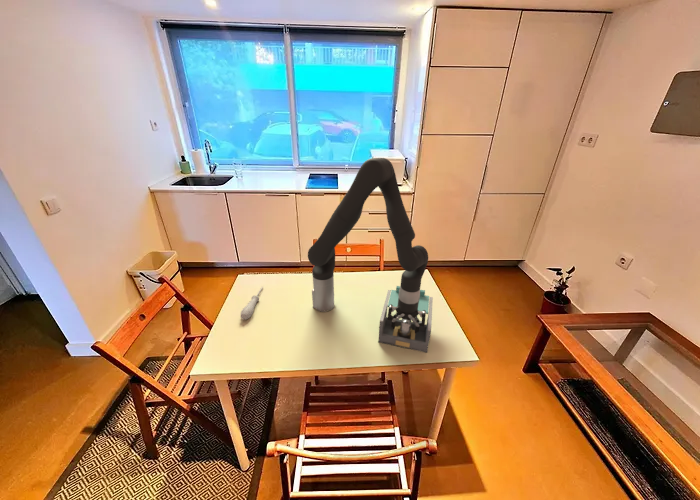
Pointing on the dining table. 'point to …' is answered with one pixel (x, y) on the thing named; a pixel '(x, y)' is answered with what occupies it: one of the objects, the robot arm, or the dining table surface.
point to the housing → (415, 340)
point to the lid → (422, 301)
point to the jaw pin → (405, 328)
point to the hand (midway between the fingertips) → (404, 329)
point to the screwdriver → (250, 307)
